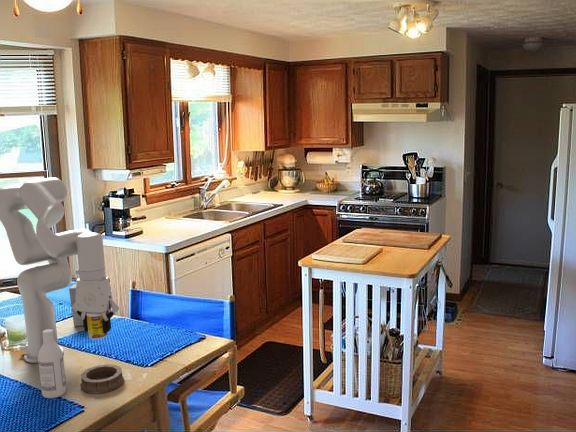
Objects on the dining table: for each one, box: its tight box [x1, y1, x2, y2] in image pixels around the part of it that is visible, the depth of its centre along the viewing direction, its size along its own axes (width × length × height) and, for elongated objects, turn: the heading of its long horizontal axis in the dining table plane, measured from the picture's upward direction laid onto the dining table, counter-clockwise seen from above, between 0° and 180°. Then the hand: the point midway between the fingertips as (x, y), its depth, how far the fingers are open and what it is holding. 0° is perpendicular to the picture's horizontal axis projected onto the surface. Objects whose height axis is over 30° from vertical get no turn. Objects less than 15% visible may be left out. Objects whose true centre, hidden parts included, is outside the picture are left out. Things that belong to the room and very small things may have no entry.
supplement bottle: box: [87, 312, 108, 341], centre depth 176 cm, size 6×6×10 cm
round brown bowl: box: [79, 363, 125, 395], centre depth 180 cm, size 13×13×4 cm
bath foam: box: [37, 329, 67, 399], centre depth 173 cm, size 7×7×20 cm
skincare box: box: [68, 283, 83, 327], centre depth 231 cm, size 8×7×16 cm
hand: (97, 330), depth 177 cm, fingers closed on supplement bottle, 5 cm apart
